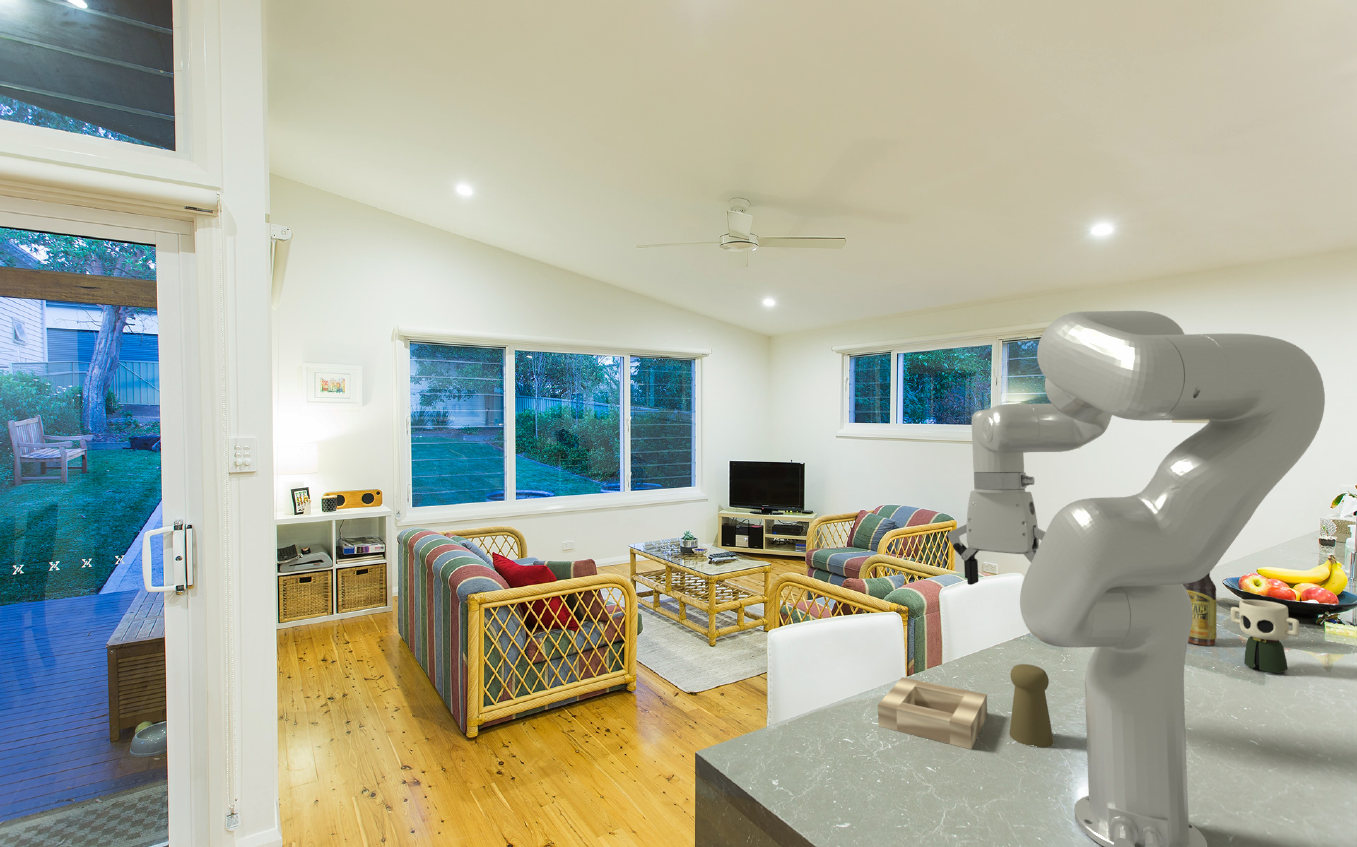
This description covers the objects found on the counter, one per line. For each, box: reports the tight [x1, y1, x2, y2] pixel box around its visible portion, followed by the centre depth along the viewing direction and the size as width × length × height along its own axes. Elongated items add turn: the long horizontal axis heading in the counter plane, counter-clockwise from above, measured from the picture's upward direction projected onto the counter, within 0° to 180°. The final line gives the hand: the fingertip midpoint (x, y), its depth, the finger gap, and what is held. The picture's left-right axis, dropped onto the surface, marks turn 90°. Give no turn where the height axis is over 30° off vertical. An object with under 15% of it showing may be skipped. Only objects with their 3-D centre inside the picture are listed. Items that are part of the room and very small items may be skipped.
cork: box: [1009, 663, 1055, 748], centre depth 97 cm, size 6×6×11 cm
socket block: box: [877, 677, 988, 750], centre depth 104 cm, size 14×14×4 cm
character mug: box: [1230, 599, 1301, 673], centre depth 124 cm, size 11×7×13 cm, turn 22°
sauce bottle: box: [1183, 571, 1218, 647], centre depth 140 cm, size 6×6×20 cm
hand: (1003, 587), depth 103 cm, fingers open, 9 cm apart
